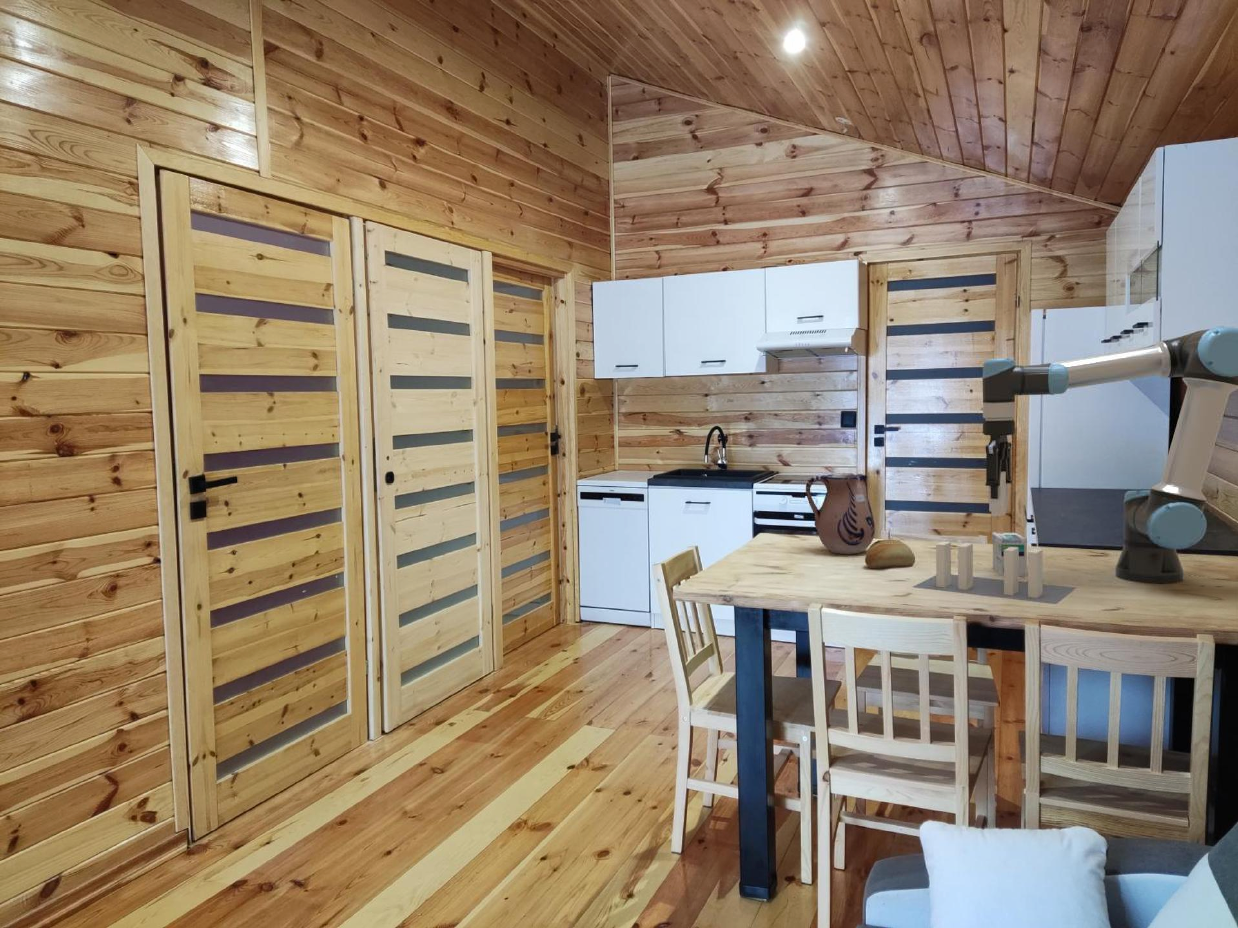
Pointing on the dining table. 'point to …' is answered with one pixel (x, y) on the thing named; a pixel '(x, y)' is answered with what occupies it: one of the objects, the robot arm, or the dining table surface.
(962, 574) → the domino
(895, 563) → the bread roll
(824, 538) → the ceramic pitcher
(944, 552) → the domino
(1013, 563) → the domino
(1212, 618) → the dining table surface
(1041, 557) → the domino
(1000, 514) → the domino
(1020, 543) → the light bulb box
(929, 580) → the mat
